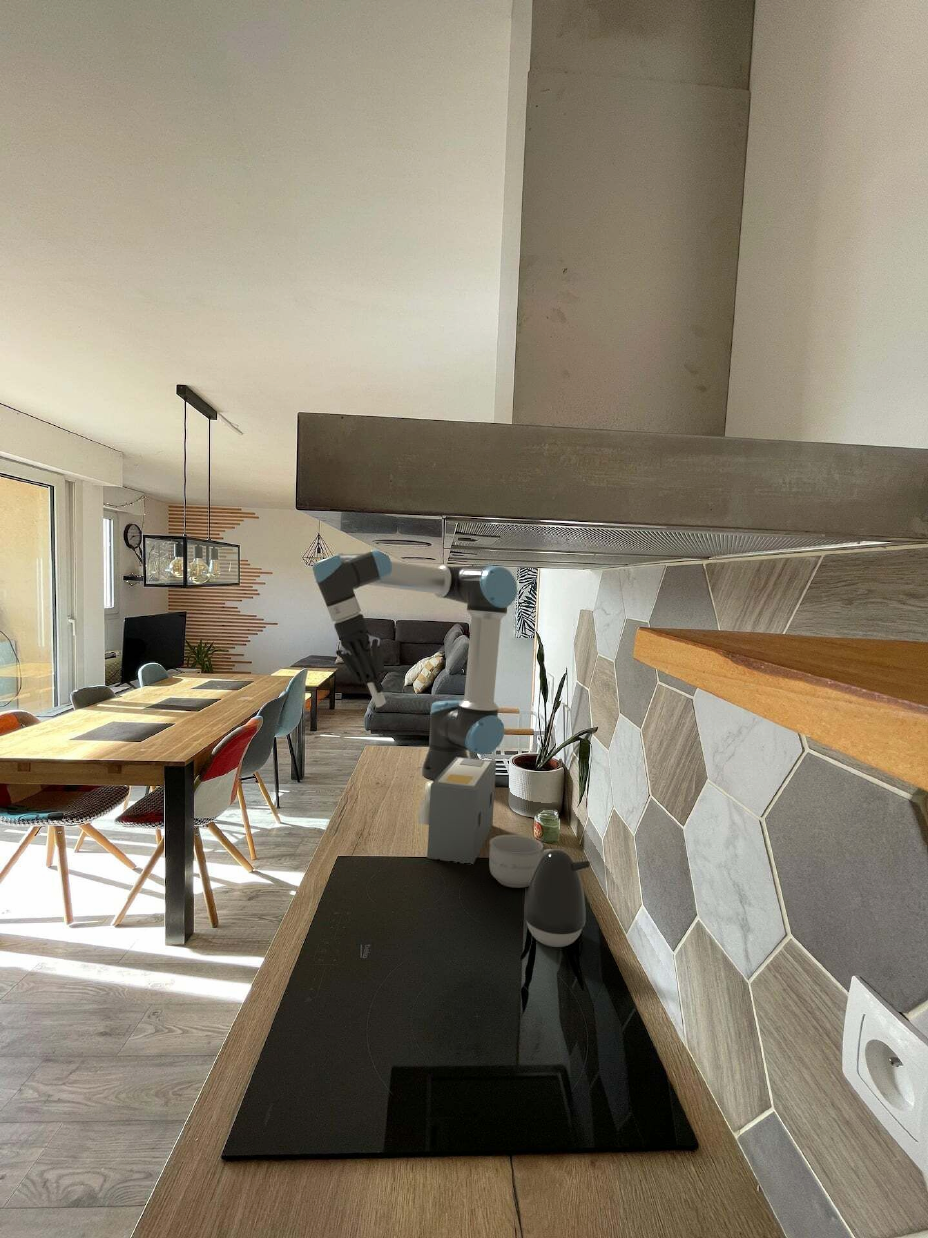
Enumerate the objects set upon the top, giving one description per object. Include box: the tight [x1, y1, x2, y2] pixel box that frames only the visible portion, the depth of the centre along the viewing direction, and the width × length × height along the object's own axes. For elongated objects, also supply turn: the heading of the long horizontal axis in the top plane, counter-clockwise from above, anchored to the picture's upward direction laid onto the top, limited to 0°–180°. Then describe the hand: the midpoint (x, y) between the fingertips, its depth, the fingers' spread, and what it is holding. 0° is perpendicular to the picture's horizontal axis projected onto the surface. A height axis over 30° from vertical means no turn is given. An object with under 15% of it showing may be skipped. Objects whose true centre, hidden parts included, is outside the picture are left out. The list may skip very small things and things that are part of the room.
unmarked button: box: [423, 780, 434, 801], centre depth 158 cm, size 5×8×5 cm, turn 77°
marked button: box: [417, 799, 430, 826], centre depth 144 cm, size 5×8×5 cm, turn 77°
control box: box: [426, 757, 497, 865], centre depth 150 cm, size 24×10×16 cm, turn 167°
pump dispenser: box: [524, 848, 591, 948], centre depth 110 cm, size 10×10×15 cm
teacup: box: [488, 834, 553, 889], centre depth 130 cm, size 14×11×8 cm
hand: (381, 704), depth 165 cm, fingers closed
